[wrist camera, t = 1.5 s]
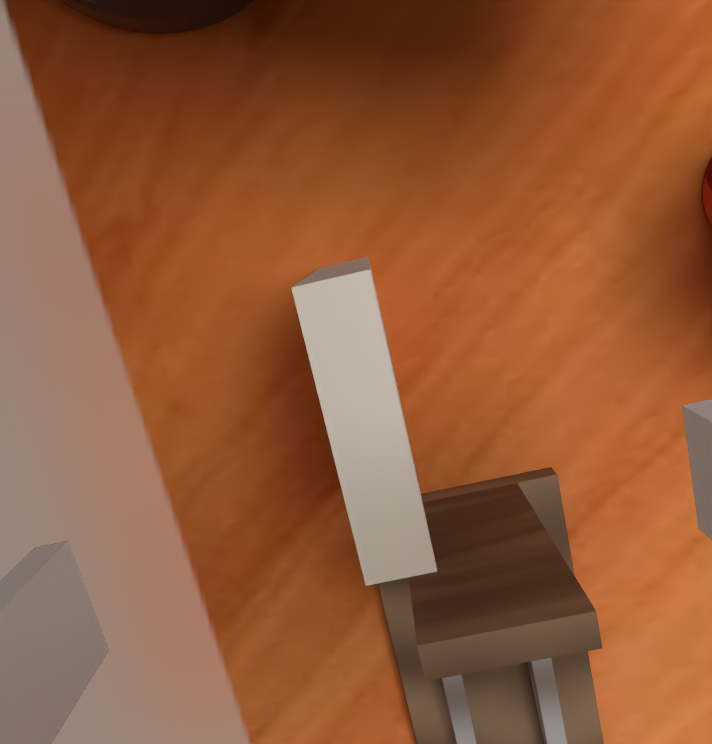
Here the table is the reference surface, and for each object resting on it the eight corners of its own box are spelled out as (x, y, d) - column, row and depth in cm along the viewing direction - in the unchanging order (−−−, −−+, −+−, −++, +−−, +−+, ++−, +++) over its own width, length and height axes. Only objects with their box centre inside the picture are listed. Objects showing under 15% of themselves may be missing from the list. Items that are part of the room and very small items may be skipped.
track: (361, 506, 33) (358, 657, 21) (551, 467, 32) (657, 599, 21) (433, 802, 37) (465, 1067, 25) (604, 772, 36) (719, 1029, 24)
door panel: (317, 268, 30) (287, 288, 19) (368, 256, 30) (370, 269, 18) (363, 459, 32) (362, 586, 21) (411, 449, 32) (437, 571, 21)
